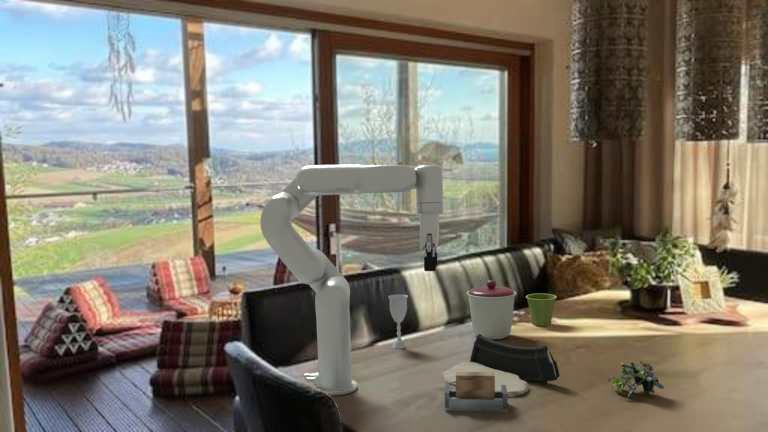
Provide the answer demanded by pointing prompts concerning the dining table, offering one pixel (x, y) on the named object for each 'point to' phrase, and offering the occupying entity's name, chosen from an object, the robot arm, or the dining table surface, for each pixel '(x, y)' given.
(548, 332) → the dining table surface
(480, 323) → the canister
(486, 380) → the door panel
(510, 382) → the stone tablet
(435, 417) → the dining table surface
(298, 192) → the robot arm
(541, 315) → the plant pot
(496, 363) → the magazine
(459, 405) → the grey open holder
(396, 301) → the chalice
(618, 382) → the green leafy plant
